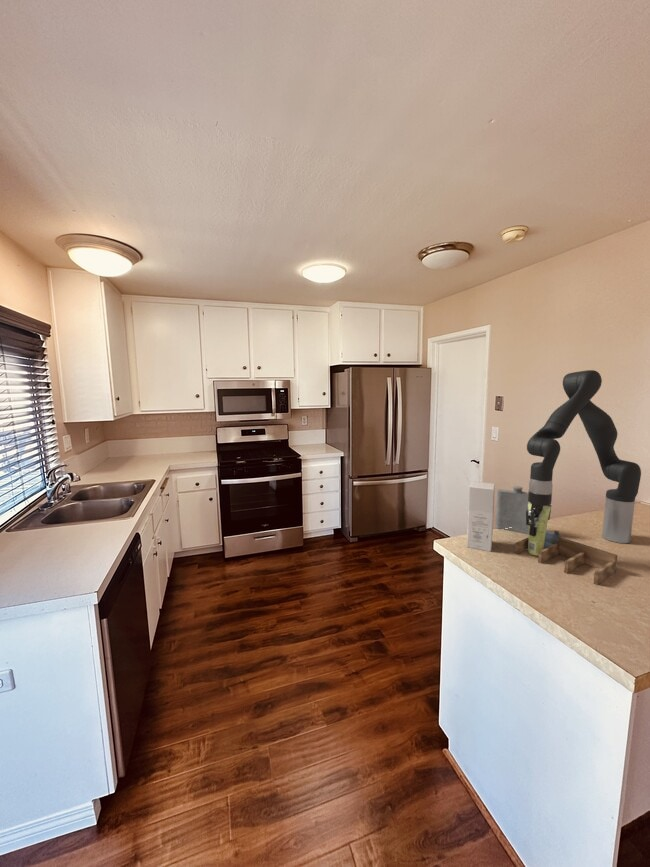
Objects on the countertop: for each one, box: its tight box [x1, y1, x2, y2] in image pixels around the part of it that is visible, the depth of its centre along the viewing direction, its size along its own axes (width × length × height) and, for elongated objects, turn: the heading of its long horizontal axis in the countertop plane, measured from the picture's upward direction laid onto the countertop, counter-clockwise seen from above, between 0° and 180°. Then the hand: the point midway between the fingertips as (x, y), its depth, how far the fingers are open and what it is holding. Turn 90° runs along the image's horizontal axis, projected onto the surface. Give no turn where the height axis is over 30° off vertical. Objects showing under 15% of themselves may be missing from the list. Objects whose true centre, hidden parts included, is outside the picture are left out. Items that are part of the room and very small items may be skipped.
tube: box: [527, 502, 552, 557], centre depth 134 cm, size 6×5×20 cm
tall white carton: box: [466, 481, 496, 552], centre depth 141 cm, size 9×9×25 cm
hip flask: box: [494, 485, 530, 536], centre depth 155 cm, size 16×4×20 cm, turn 56°
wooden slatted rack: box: [514, 529, 618, 586], centre depth 128 cm, size 15×27×8 cm, turn 33°
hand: (537, 533), depth 134 cm, fingers open, 6 cm apart
